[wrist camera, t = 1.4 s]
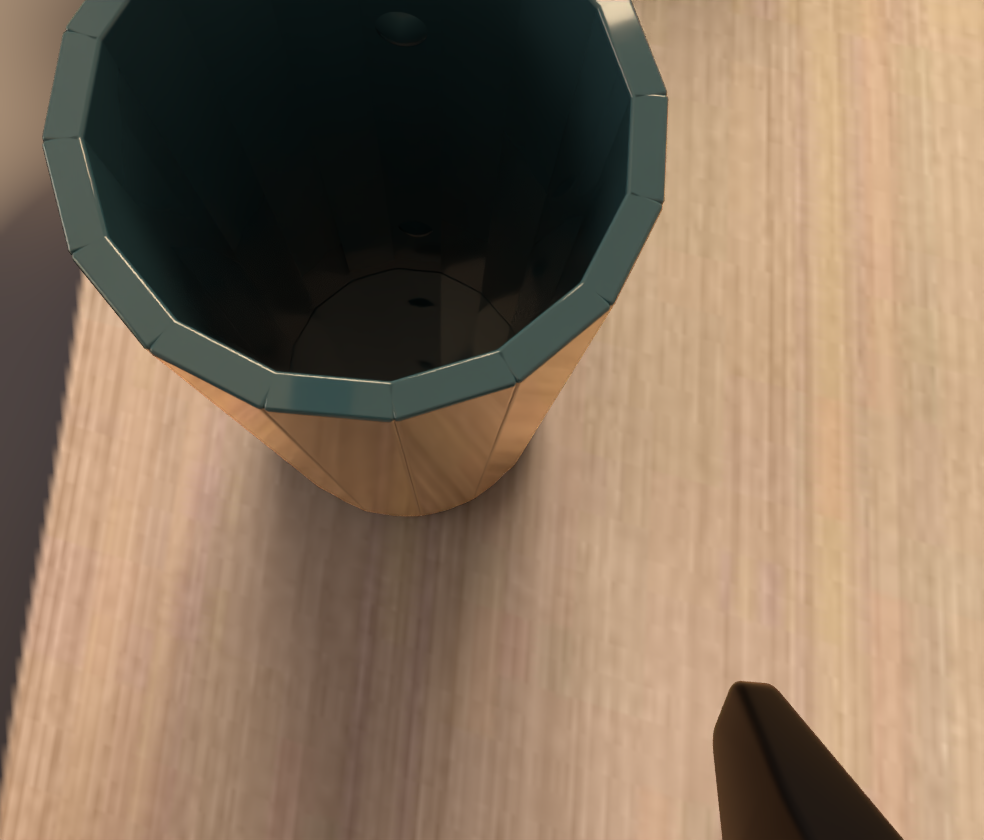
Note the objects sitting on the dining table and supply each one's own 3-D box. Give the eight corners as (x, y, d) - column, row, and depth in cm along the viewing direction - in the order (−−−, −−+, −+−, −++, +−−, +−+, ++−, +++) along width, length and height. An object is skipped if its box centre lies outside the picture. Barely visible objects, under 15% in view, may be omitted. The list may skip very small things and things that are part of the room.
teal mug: (528, 527, 22) (655, 445, 9) (259, 504, 21) (-11, 387, 9) (554, 155, 24) (687, -347, 11) (309, 129, 23) (151, -417, 11)
